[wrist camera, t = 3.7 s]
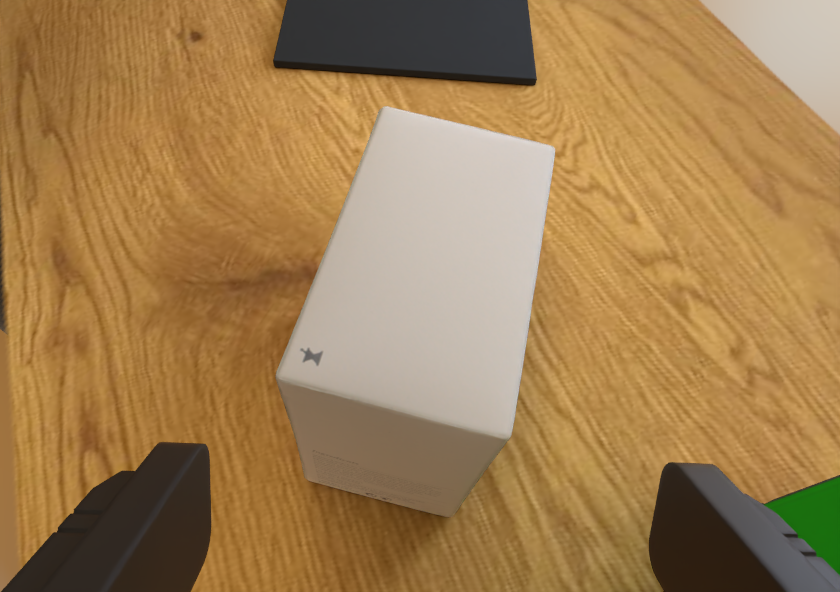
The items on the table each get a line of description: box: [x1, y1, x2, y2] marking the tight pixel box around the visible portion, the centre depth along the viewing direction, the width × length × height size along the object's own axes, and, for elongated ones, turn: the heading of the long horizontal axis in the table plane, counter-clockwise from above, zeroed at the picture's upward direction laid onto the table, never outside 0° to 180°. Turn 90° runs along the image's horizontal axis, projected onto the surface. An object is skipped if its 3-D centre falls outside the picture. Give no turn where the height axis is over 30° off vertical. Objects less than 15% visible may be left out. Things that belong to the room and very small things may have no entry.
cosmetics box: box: [276, 106, 555, 517], centre depth 21 cm, size 10×6×10 cm, turn 167°
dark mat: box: [273, 0, 537, 85], centre depth 39 cm, size 16×12×1 cm
